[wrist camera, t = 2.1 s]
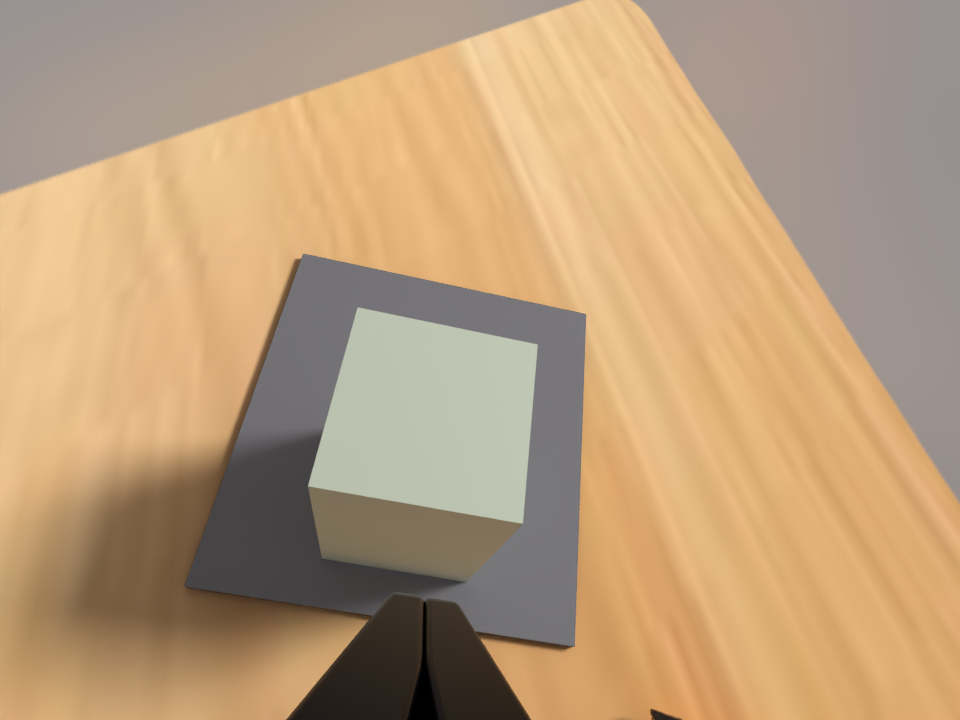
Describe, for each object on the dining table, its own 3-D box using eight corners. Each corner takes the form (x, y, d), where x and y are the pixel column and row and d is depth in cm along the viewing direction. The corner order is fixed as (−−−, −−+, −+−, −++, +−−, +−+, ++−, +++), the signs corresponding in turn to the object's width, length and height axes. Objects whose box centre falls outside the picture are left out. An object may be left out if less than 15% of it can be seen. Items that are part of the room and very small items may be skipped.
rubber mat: (571, 646, 21) (574, 646, 20) (186, 587, 19) (184, 586, 19) (583, 317, 28) (585, 314, 28) (303, 257, 27) (303, 253, 26)
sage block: (465, 581, 21) (522, 524, 14) (321, 558, 20) (308, 486, 13) (482, 448, 23) (537, 344, 16) (355, 425, 23) (357, 307, 16)
